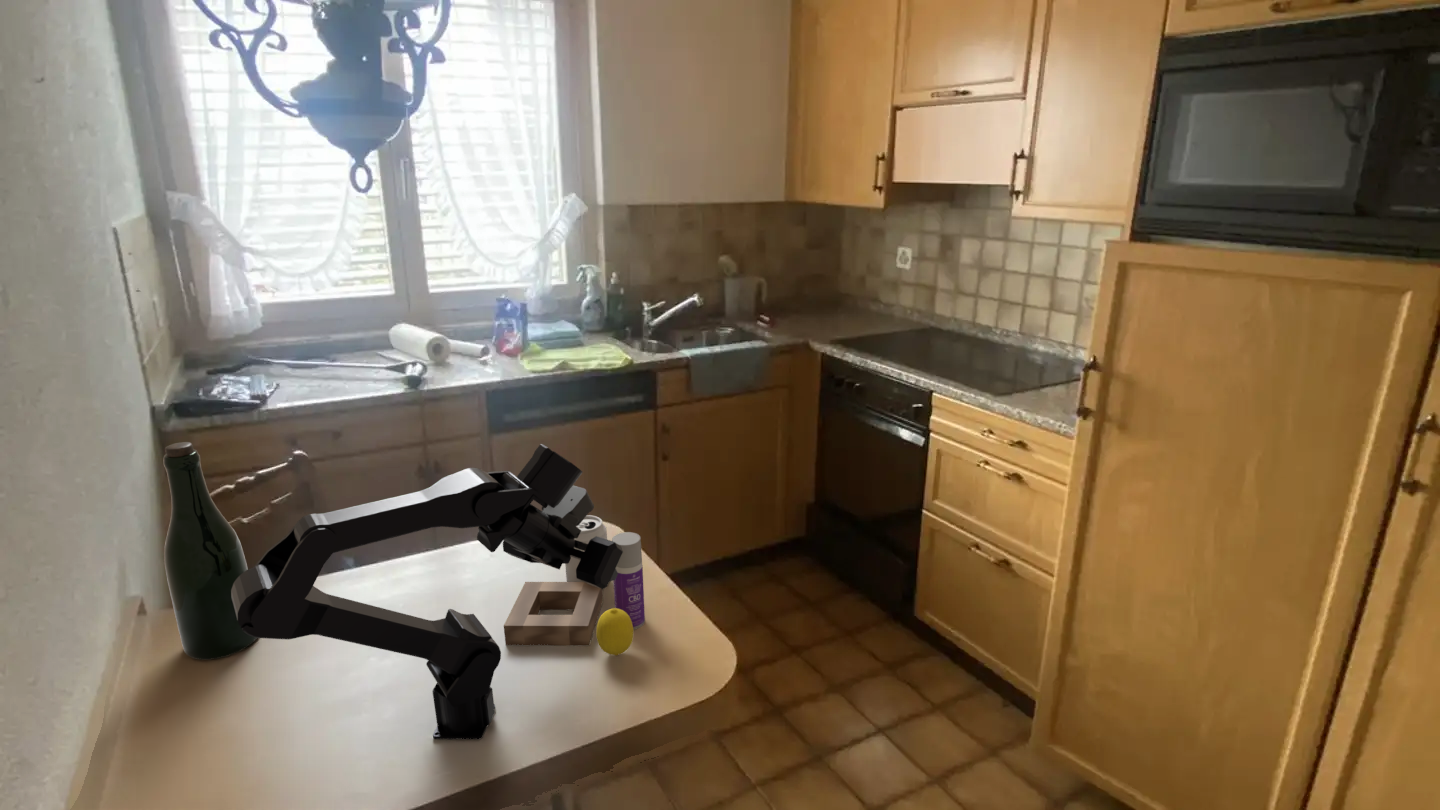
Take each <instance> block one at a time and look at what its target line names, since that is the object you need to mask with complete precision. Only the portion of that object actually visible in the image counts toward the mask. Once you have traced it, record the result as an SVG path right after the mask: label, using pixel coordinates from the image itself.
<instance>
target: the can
mask: <svg viewBox="0 0 1440 810" xmlns="http://www.w3.org/2000/svg"><path fill="white" fill-rule="evenodd" d="M576 527H577V528H579V529H580V530H581V532H580V534H579V536H578V538H575V539H574V540H577V541H580V542H583V543H586V544H588V543H589V541H590V540H591V539H592V538H594V537H596V536H597V537H600V538H604V539H607V540H608V533H607V526H606V525H605V524H603V520H602V518H600V517H598V516H596V515H591V514H589V515H588V514H587V516H586V517H585V518H584V519H583V521H582V522H581V523H580V524H579V525H578V526H576ZM575 549H577V550H580V549H578V548H575ZM580 551H583V552H585V551H584V550H580ZM579 562H580V560H579V559H577V558H574V557H571V559H570V561H569V563H568V564H565V565H564V566H565V577H566V582H583V581H581V580H579V579H577V577H576V568H577V566H578V564H579Z"/></svg>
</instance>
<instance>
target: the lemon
mask: <svg viewBox="0 0 1440 810" xmlns="http://www.w3.org/2000/svg"><path fill="white" fill-rule="evenodd" d="M599 616H600V617H598V619H597V622H596V634H595V635H596V640H597V644H598V646H599V648H600V649H601V650H602V651H603V652H605V653H606V654H608V655H611V656H615V657H617V656H619V655H621V654H623V653H625V652H626V651H628V650H629V648H630V646H631V645H632V643H633V639H634V630H635V629H634V630H633V625H632V621H631V619H630V617H629V615H628V614H627V613H626V612H625V611H623V610H621V609H617V608H615V607H612V608H609V609H607V610H606V611H605V610H604V612H603V613H602V614H601V615H599Z"/></svg>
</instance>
